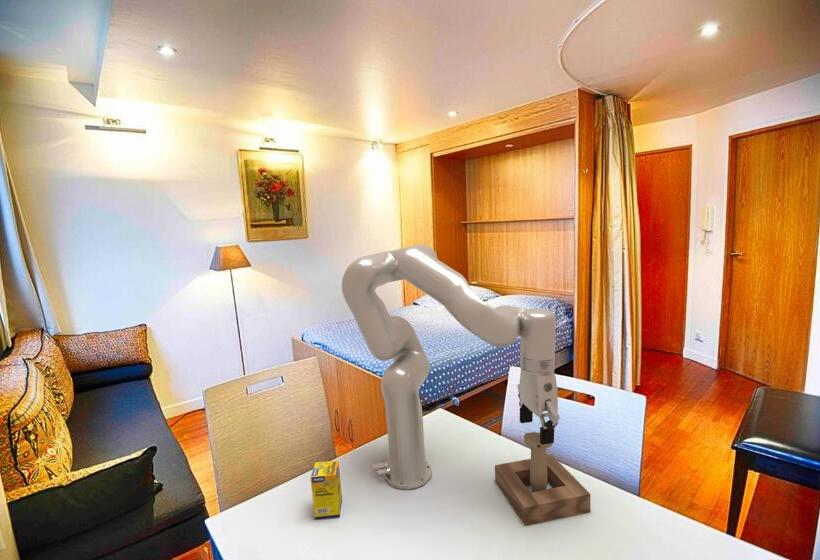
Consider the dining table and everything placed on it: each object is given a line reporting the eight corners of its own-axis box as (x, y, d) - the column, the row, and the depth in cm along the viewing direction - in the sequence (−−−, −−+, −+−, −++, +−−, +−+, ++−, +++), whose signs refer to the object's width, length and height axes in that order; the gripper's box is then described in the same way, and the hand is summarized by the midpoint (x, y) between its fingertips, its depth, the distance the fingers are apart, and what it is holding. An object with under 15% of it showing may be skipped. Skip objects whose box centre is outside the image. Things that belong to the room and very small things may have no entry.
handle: (553, 504, 95) (553, 444, 92) (525, 500, 96) (524, 442, 94) (552, 490, 99) (551, 433, 97) (524, 487, 101) (523, 431, 99)
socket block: (524, 526, 88) (524, 507, 88) (495, 481, 104) (494, 465, 103) (590, 512, 91) (590, 493, 91) (552, 470, 107) (551, 454, 106)
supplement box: (340, 517, 94) (336, 474, 93) (314, 520, 94) (309, 477, 92) (342, 500, 100) (339, 459, 99) (318, 502, 100) (314, 462, 98)
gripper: (574, 375, 85) (571, 450, 88) (533, 349, 102) (532, 413, 105) (541, 379, 84) (540, 455, 86) (505, 352, 101) (505, 416, 103)
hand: (535, 432), depth 95 cm, fingers open, 9 cm apart
